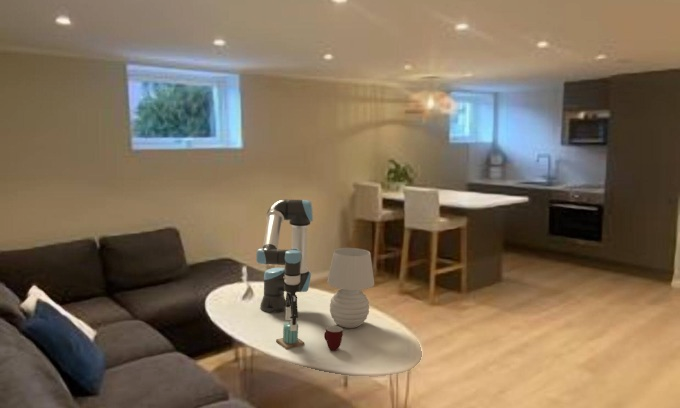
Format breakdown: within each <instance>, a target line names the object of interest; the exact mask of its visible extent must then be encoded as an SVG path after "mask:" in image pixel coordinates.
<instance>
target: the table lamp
mask: <svg viewBox="0 0 680 408" xmlns="http://www.w3.org/2000/svg"><path fill="white" fill-rule="evenodd" d="M373 271H374V270H373V263H372V255H371V252H370V251H369V250H367V249H363V248H356V247H355V248H354V247H342V248H340V247H339V248H337V249H334V251H333V255H332V258H331V263H330V267H329V272H328V276H327V280H326V283H327V285H329V286H330V287H333V288H336V289H338V290H337V291H336V292H335V293H334V294H333V296H332V297H331V299H330V303H329V312H330V316H331V318H332V319H333V321H334V322H335V323H336V324H337V326H339V327H341V328H346V329H353V328H358V327H359V326H361V325H362V324H363V323H365V321H366V320H367V318H368V316H369V312H370V301H369V299H368V297H367V295H366V294H365V293H364V292H363V291H364V290H367V289H368V290H369V289H371V288H373V287H374V286H375V279H374V277H375V276H374V272H373ZM362 290H363V291H362Z"/></svg>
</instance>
